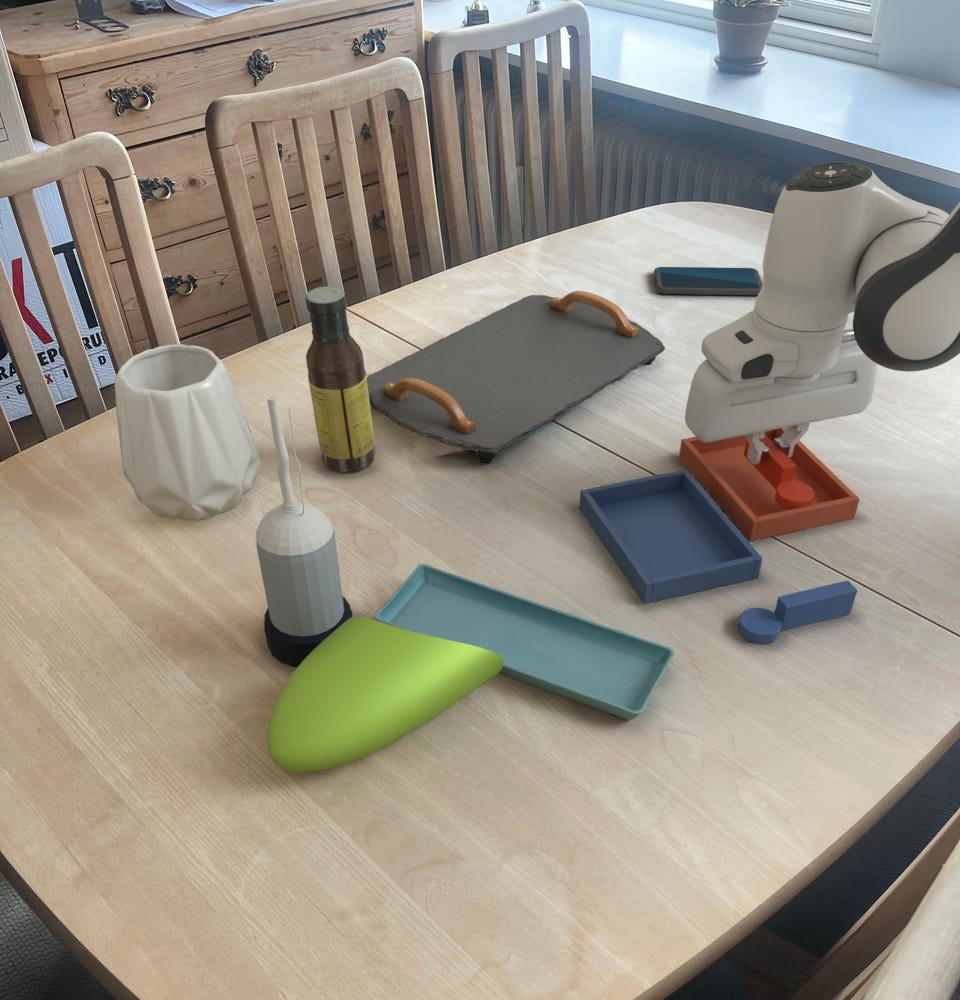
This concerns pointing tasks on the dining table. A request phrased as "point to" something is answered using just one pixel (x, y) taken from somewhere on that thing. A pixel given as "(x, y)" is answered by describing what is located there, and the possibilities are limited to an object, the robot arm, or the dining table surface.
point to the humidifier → (297, 567)
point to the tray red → (766, 487)
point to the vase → (183, 433)
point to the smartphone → (707, 280)
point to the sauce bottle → (338, 385)
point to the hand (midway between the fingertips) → (768, 458)
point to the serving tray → (512, 371)
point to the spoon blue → (797, 611)
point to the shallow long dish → (532, 640)
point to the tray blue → (668, 536)
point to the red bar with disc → (783, 478)
